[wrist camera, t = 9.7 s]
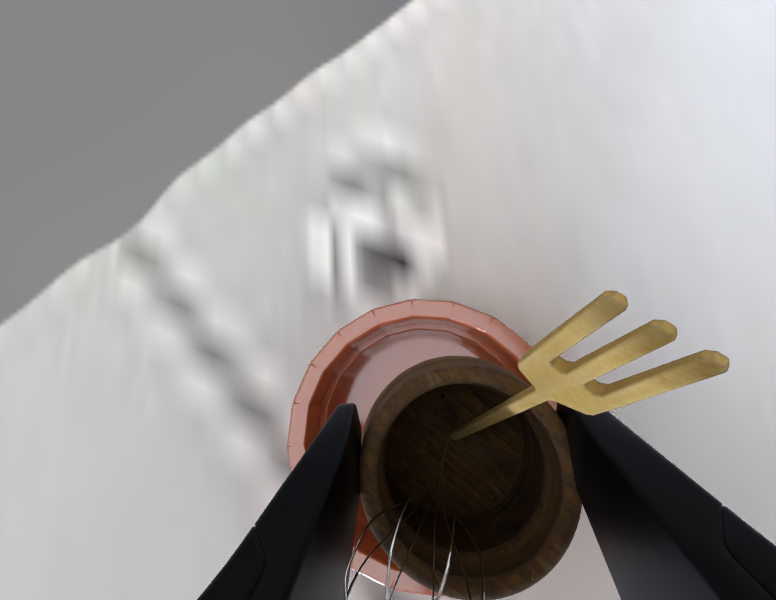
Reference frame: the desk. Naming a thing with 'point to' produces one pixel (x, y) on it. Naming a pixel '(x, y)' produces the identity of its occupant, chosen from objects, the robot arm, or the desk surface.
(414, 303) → the pot
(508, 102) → the desk surface
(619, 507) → the robot arm
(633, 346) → the utensil holder
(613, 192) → the desk surface
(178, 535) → the desk surface
